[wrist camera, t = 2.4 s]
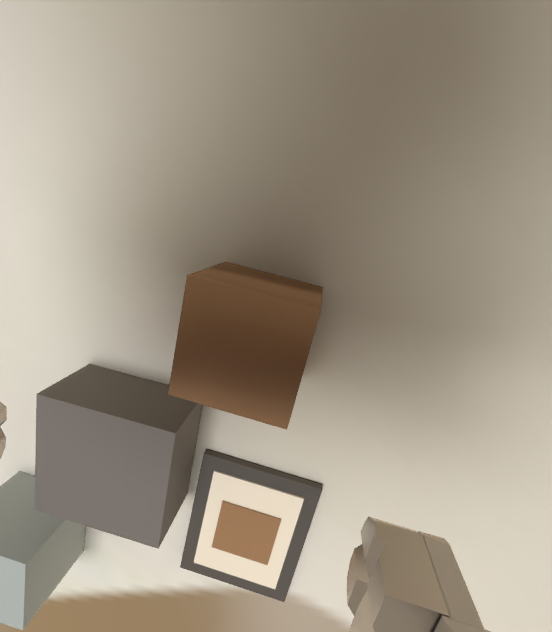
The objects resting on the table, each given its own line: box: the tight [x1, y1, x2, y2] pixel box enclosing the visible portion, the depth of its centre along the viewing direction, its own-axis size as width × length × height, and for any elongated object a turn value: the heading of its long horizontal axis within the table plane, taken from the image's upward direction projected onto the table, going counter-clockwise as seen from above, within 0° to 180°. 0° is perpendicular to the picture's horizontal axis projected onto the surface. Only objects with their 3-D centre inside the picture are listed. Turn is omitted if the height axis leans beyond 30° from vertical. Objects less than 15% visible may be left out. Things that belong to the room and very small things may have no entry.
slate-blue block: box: [0, 471, 86, 630], centre depth 21 cm, size 5×5×5 cm
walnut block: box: [168, 262, 323, 429], centre depth 15 cm, size 5×5×5 cm
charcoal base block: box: [35, 364, 202, 548], centre depth 19 cm, size 7×7×4 cm
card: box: [180, 449, 322, 602], centre depth 21 cm, size 9×7×1 cm
